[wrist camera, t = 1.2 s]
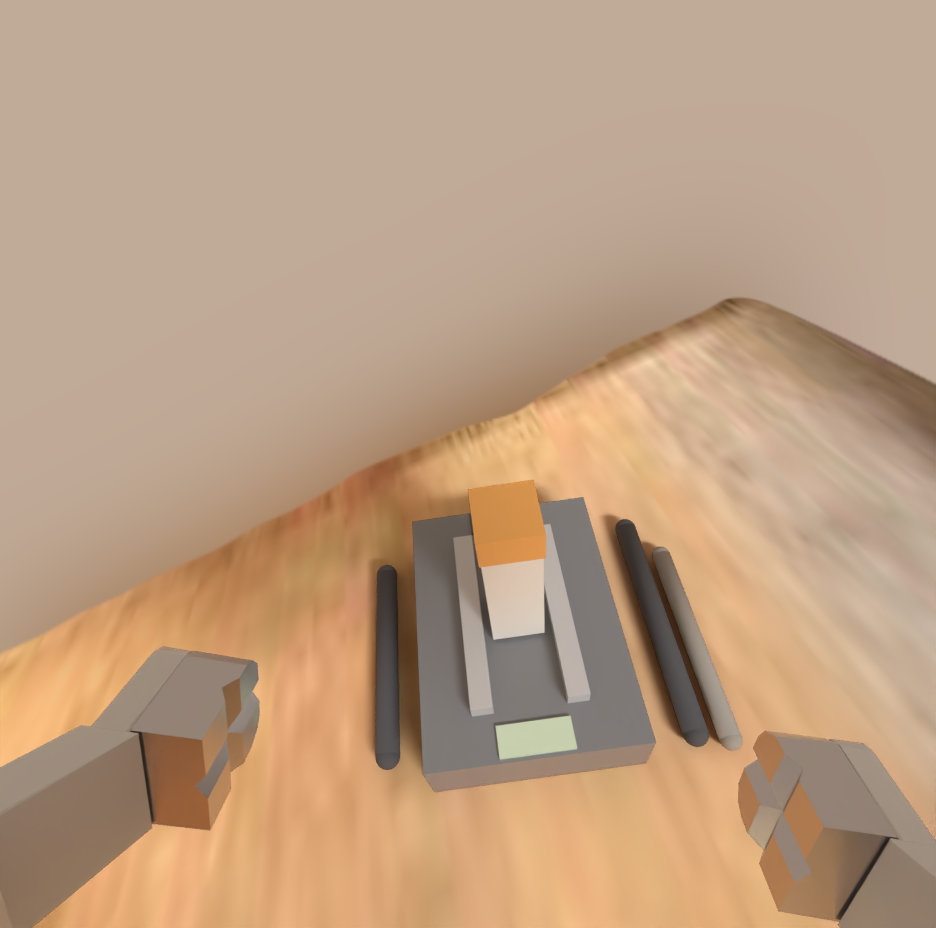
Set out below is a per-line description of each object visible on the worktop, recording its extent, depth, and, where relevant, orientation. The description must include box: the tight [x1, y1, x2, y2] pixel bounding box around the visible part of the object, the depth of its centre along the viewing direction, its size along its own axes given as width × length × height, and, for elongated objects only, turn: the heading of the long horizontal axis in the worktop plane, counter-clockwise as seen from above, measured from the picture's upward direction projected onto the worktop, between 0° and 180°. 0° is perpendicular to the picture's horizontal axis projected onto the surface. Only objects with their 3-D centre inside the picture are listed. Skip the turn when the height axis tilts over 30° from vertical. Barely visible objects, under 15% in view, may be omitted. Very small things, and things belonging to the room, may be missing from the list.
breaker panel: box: [412, 497, 656, 792], centre depth 36 cm, size 16×12×5 cm
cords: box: [376, 519, 742, 770], centre depth 37 cm, size 16×21×1 cm
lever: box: [468, 480, 546, 640], centre depth 30 cm, size 3×3×10 cm
